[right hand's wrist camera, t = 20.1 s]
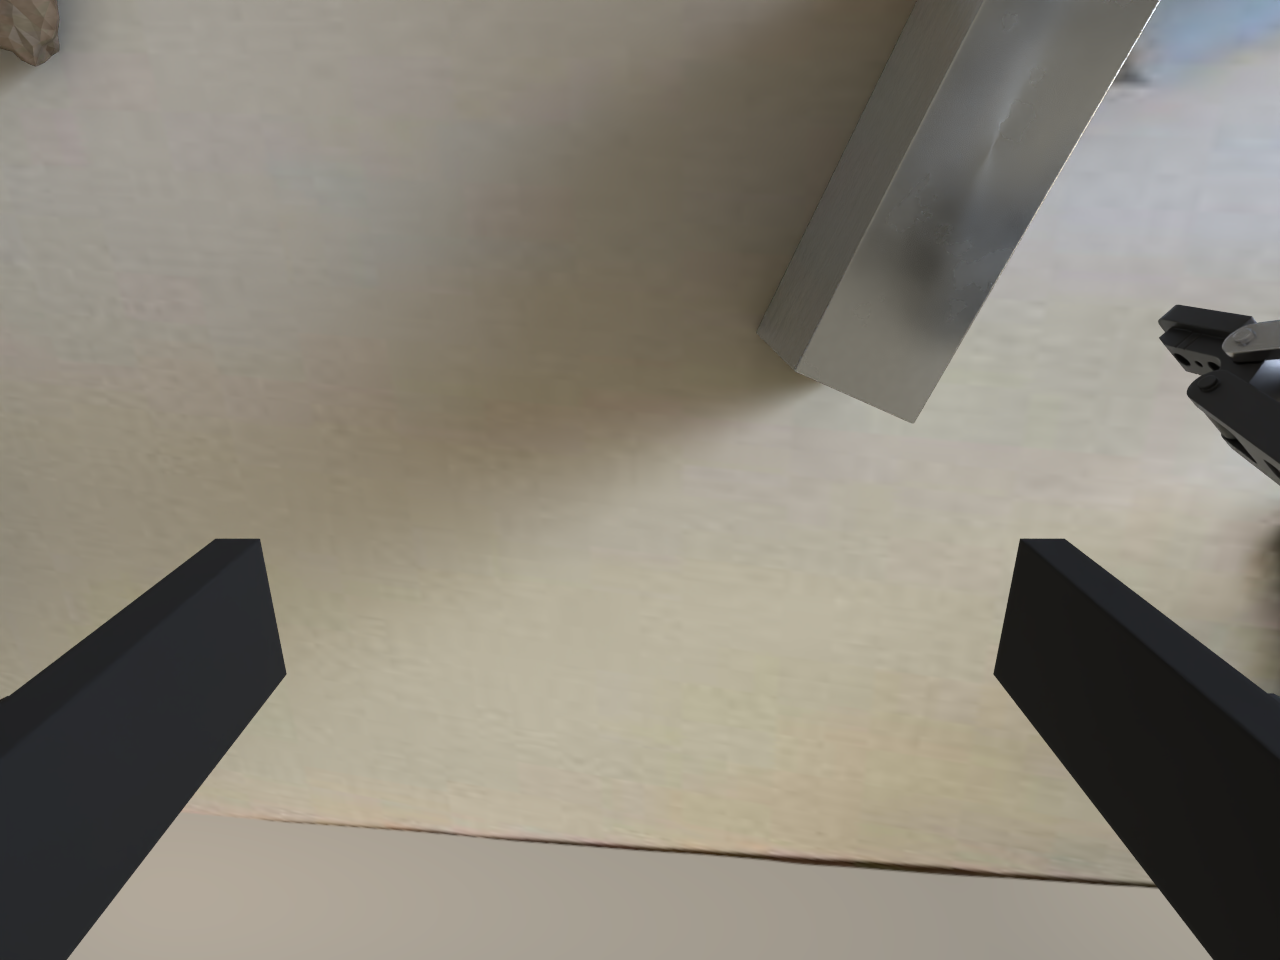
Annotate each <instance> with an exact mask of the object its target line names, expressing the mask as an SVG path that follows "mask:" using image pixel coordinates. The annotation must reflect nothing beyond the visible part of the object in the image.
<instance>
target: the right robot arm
mask: <svg viewBox="0 0 1280 960" xmlns="http://www.w3.org/2000/svg"><path fill="white" fill-rule="evenodd" d="M285 675H286V669H285V664H284V659H283V654H282V649H281V644H280V639H279V634H278V628H277V623H276V618H275V613H274V608H273V603H272V598H271V593H270V588H269V583H268V578H267V573H266V567H265V562H264V557H263V552H262V547H261V542H260V539H215V540H213V541H212V542H211V543H209V544H208V545H207V546H205V547H204V548H203V549H201V550H200V551H199V552H198V553H196V554H195V555H194V556H192V557H191V558H190V559H188V560H187V561H186V562H184V563H183V564H182V565H180V566H179V567H178V568H177V569H175V570H174V571H173V572H171V573H170V574H169V575H167V576H166V577H165V578H163V579H162V580H161V581H159V582H158V583H157V584H156V585H154V586H153V587H152V588H150V589H149V590H148V591H146V592H145V593H144V594H142V595H141V596H140V597H138V598H137V599H136V600H135V601H133V602H132V603H131V604H129V605H128V606H127V607H125V608H124V609H123V610H121V611H120V612H119V613H117V614H116V615H115V616H114V617H112V618H111V619H110V620H108V621H107V622H106V623H104V624H103V625H102V626H100V627H99V628H98V629H97V630H95V631H94V632H93V633H91V634H90V635H89V636H87V637H86V638H85V639H83V640H82V641H81V642H79V643H78V644H77V645H76V646H74V647H73V648H72V649H70V650H69V651H68V652H66V653H65V654H64V655H62V656H61V657H60V658H58V659H57V660H56V661H55V662H53V663H52V664H51V665H49V666H48V667H47V668H45V669H44V670H43V671H41V672H40V673H39V674H37V675H36V676H35V677H34V678H32V679H31V680H30V681H28V682H27V683H26V684H24V685H23V686H22V687H20V688H19V689H18V690H16V691H15V692H14V693H13V694H11V695H10V696H7V697H5V698H3V699H1V700H0V960H67V959H68V957H69V956H70V955H71V953H72V952H73V951H74V949H75V948H76V947H77V946H78V944H79V943H80V942H81V940H82V939H83V938H84V936H85V935H86V934H87V933H88V931H89V930H90V929H91V927H92V926H93V925H94V923H95V922H96V921H97V920H98V918H99V917H100V916H101V914H102V913H103V912H104V911H105V909H106V908H107V907H108V905H109V904H110V903H111V901H112V900H113V899H114V897H115V896H116V895H117V894H118V892H119V891H120V890H121V888H122V887H123V886H124V884H125V883H126V882H127V881H128V879H129V878H130V877H131V875H132V874H133V873H134V872H135V870H136V869H137V868H138V866H139V865H140V864H141V862H142V861H143V860H144V859H145V857H146V856H147V855H148V853H149V852H150V851H151V849H152V848H153V847H154V846H155V844H156V843H157V842H158V840H159V839H160V838H161V836H162V835H163V834H164V833H165V831H166V830H167V829H168V827H169V826H170V825H171V823H172V822H173V821H174V820H175V818H176V817H177V816H178V814H179V813H180V812H181V811H182V809H183V808H184V807H185V805H186V804H187V803H188V801H189V800H190V799H191V798H192V796H193V795H194V794H195V792H196V791H197V790H198V788H199V787H200V786H201V785H202V783H203V782H204V781H205V779H206V778H207V777H208V775H209V774H210V773H211V772H212V770H213V769H214V768H215V766H216V765H217V764H218V762H219V761H220V760H221V759H222V757H223V756H224V755H225V753H226V752H227V751H228V749H229V748H230V747H231V746H232V744H233V743H234V742H235V740H236V739H237V738H238V737H239V735H240V734H241V733H242V731H243V730H244V729H245V727H246V726H247V725H248V724H249V722H250V721H251V720H252V718H253V717H254V716H255V714H256V713H257V712H258V711H259V709H260V708H261V707H262V705H263V704H264V703H265V701H266V700H267V699H268V698H269V696H270V695H271V694H272V692H273V691H274V690H275V688H276V687H277V686H278V685H279V683H280V682H281V681H282V679H283V678H284V677H285ZM994 675H995V677H996V678H997V679H998V681H999V682H1000V683H1001V685H1002V686H1003V687H1004V688H1005V690H1006V691H1007V692H1008V694H1009V695H1010V696H1011V698H1012V699H1013V700H1014V701H1015V703H1016V704H1017V705H1018V707H1019V708H1020V709H1021V711H1022V712H1023V713H1024V714H1025V716H1026V717H1027V718H1028V720H1029V721H1030V722H1031V724H1032V725H1033V726H1034V727H1035V729H1036V730H1037V731H1038V733H1039V734H1040V735H1041V737H1042V738H1043V739H1044V740H1045V742H1046V743H1047V744H1048V746H1049V747H1050V748H1051V749H1052V751H1053V752H1054V753H1055V755H1056V756H1057V757H1058V759H1059V760H1060V761H1061V762H1062V764H1063V765H1064V766H1065V768H1066V769H1067V770H1068V772H1069V773H1070V774H1071V775H1072V777H1073V778H1074V779H1075V781H1076V782H1077V783H1078V785H1079V786H1080V787H1081V788H1082V790H1083V791H1084V792H1085V794H1086V795H1087V796H1088V798H1089V799H1090V800H1091V801H1092V803H1093V804H1094V805H1095V807H1096V808H1097V809H1098V811H1099V812H1100V813H1101V814H1102V816H1103V817H1104V818H1105V820H1106V821H1107V822H1108V824H1109V825H1110V826H1111V827H1112V829H1113V830H1114V831H1115V833H1116V834H1117V835H1118V836H1119V838H1120V839H1121V840H1122V842H1123V843H1124V844H1125V846H1126V847H1127V848H1128V849H1129V851H1130V852H1131V853H1132V855H1133V856H1134V857H1135V859H1136V860H1137V861H1138V862H1139V864H1140V865H1141V866H1142V868H1143V869H1144V870H1145V872H1146V873H1147V874H1148V875H1149V877H1150V878H1151V879H1152V881H1153V882H1154V883H1155V885H1156V886H1157V887H1158V888H1159V890H1160V891H1161V892H1162V894H1163V895H1164V896H1165V897H1166V899H1167V900H1168V901H1169V903H1170V904H1171V905H1172V907H1173V908H1174V909H1175V910H1176V912H1177V913H1178V914H1179V916H1180V917H1181V918H1182V920H1183V921H1184V922H1185V923H1186V925H1187V926H1188V927H1189V929H1190V930H1191V931H1192V933H1193V934H1194V935H1195V936H1196V938H1197V939H1198V940H1199V942H1200V943H1201V944H1202V946H1203V947H1204V948H1205V949H1206V951H1207V952H1208V953H1209V955H1210V956H1211V957H1212V959H1213V960H1280V697H1279V696H1277V695H1275V694H1267V693H1266V692H1265V691H1264V690H1262V689H1261V688H1260V687H1258V686H1257V685H1256V684H1254V683H1253V682H1252V681H1250V680H1249V679H1248V678H1246V677H1245V676H1244V675H1243V674H1241V673H1240V672H1239V671H1237V670H1236V669H1235V668H1233V667H1232V666H1231V665H1229V664H1228V663H1227V662H1225V661H1224V660H1223V659H1222V658H1220V657H1219V656H1218V655H1216V654H1215V653H1214V652H1212V651H1211V650H1210V649H1208V648H1207V647H1206V646H1204V645H1203V644H1202V643H1201V642H1199V641H1198V640H1197V639H1195V638H1194V637H1193V636H1191V635H1190V634H1189V633H1187V632H1186V631H1185V630H1183V629H1182V628H1181V627H1180V626H1178V625H1177V624H1176V623H1174V622H1173V621H1172V620H1170V619H1169V618H1168V617H1166V616H1165V615H1164V614H1163V613H1161V612H1160V611H1159V610H1157V609H1156V608H1155V607H1153V606H1152V605H1151V604H1149V603H1148V602H1147V601H1145V600H1144V599H1143V598H1142V597H1140V596H1139V595H1138V594H1136V593H1135V592H1134V591H1132V590H1131V589H1130V588H1128V587H1127V586H1126V585H1124V584H1123V583H1122V582H1121V581H1119V580H1118V579H1117V578H1115V577H1114V576H1113V575H1111V574H1110V573H1109V572H1107V571H1106V570H1105V569H1103V568H1102V567H1101V566H1100V565H1098V564H1097V563H1096V562H1094V561H1093V560H1092V559H1090V558H1089V557H1088V556H1086V555H1085V554H1084V553H1082V552H1081V551H1080V550H1079V549H1077V548H1076V547H1075V546H1073V545H1072V544H1071V543H1069V542H1068V541H1067V540H1065V539H1020V542H1019V547H1018V552H1017V557H1016V562H1015V567H1014V572H1013V578H1012V583H1011V588H1010V593H1009V598H1008V603H1007V608H1006V613H1005V618H1004V623H1003V628H1002V634H1001V639H1000V644H999V649H998V654H997V659H996V664H995V669H994Z"/></svg>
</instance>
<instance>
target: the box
mask: <svg viewBox="0 0 1280 960" xmlns="http://www.w3.org/2000/svg"><path fill="white" fill-rule="evenodd" d="M1160 1H1161V0H917V2H916V4H915V6H914V8H913V10H912V12H911V15H910V17H909V19H908V21H907V23H906V25H905V27H904V29H903V31H902V33H901V35H900V37H899V39H898V41H897V43H896V45H895V47H894V50H893V52H892V54H891V56H890V58H889V60H888V62H887V64H886V66H885V68H884V70H883V72H882V74H881V76H880V78H879V80H878V83H877V85H876V87H875V89H874V91H873V93H872V95H871V97H870V99H869V101H868V103H867V105H866V107H865V109H864V111H863V113H862V116H861V118H860V120H859V122H858V124H857V126H856V128H855V130H854V132H853V134H852V136H851V138H850V140H849V142H848V144H847V146H846V148H845V151H844V153H843V155H842V157H841V159H840V161H839V163H838V165H837V167H836V169H835V171H834V173H833V175H832V177H831V179H830V181H829V184H828V186H827V188H826V190H825V192H824V194H823V196H822V198H821V200H820V202H819V204H818V206H817V208H816V210H815V212H814V214H813V217H812V219H811V221H810V223H809V225H808V227H807V229H806V231H805V233H804V235H803V237H802V239H801V241H800V243H799V245H798V247H797V250H796V252H795V254H794V256H793V258H792V260H791V262H790V264H789V266H788V268H787V270H786V272H785V274H784V276H783V278H782V280H781V282H780V285H779V287H778V289H777V291H776V293H775V295H774V297H773V299H772V301H771V303H770V305H769V307H768V309H767V311H766V313H765V315H764V318H763V320H762V322H761V324H760V326H759V328H758V330H757V334H758V335H759V336H760V337H761V338H762V339H763V340H764V341H765V342H766V343H767V344H768V345H769V346H770V347H771V348H772V349H773V350H774V351H775V352H776V353H777V354H778V355H779V356H780V357H781V358H782V359H783V360H784V361H785V362H786V363H787V364H788V365H789V366H790V367H791V368H792V369H793V370H794V371H795V372H797V373H800V374H802V375H804V376H806V377H809V378H811V379H813V380H815V381H818V382H820V383H822V384H824V385H827V386H829V387H831V388H833V389H836V390H838V391H840V392H842V393H845V394H847V395H849V396H851V397H854V398H856V399H858V400H860V401H863V402H865V403H867V404H869V405H872V406H874V407H876V408H878V409H881V410H883V411H885V412H887V413H890V414H892V415H894V416H896V417H899V418H901V419H903V420H905V421H908V422H910V423H914V422H915V421H916V419H917V417H918V415H919V414H920V412H921V410H922V409H923V407H924V405H925V403H926V402H927V400H928V398H929V397H930V395H931V393H932V391H933V390H934V388H935V386H936V385H937V383H938V381H939V379H940V378H941V376H942V374H943V373H944V371H945V369H946V367H947V366H948V364H949V362H950V361H951V359H952V357H953V355H954V354H955V352H956V350H957V349H958V347H959V345H960V343H961V342H962V340H963V338H964V337H965V335H966V333H967V331H968V330H969V328H970V326H971V325H972V323H973V321H974V319H975V318H976V316H977V314H978V313H979V311H980V309H981V307H982V306H983V304H984V302H985V301H986V299H987V297H988V295H989V294H990V292H991V290H992V289H993V287H994V285H995V283H996V282H997V280H998V278H999V277H1000V275H1001V273H1002V271H1003V270H1004V268H1005V266H1006V265H1007V263H1008V261H1009V259H1010V258H1011V256H1012V254H1013V253H1014V251H1015V249H1016V247H1017V246H1018V244H1019V242H1020V241H1021V239H1022V237H1023V235H1024V234H1025V232H1026V230H1027V229H1028V227H1029V225H1030V223H1031V222H1032V220H1033V218H1034V217H1035V215H1036V213H1037V211H1038V210H1039V208H1040V206H1041V205H1042V203H1043V201H1044V199H1045V198H1046V196H1047V194H1048V193H1049V191H1050V189H1051V187H1052V186H1053V184H1054V182H1055V181H1056V179H1057V177H1058V175H1059V174H1060V172H1061V170H1062V169H1063V167H1064V165H1065V163H1066V162H1067V160H1068V158H1069V157H1070V155H1071V153H1072V151H1073V150H1074V148H1075V146H1076V145H1077V143H1078V141H1079V139H1080V138H1081V136H1082V134H1083V133H1084V131H1085V129H1086V127H1087V126H1088V124H1089V122H1090V121H1091V119H1092V117H1093V115H1094V114H1095V112H1096V110H1097V109H1098V107H1099V105H1100V103H1101V102H1102V100H1103V98H1104V97H1105V95H1106V93H1107V91H1108V90H1109V88H1110V86H1111V85H1112V83H1113V81H1114V79H1115V78H1116V76H1117V74H1118V73H1119V71H1120V69H1121V67H1122V66H1123V64H1124V62H1125V61H1126V59H1127V57H1128V55H1129V54H1130V52H1131V50H1132V49H1133V47H1134V45H1135V43H1136V42H1137V40H1138V38H1139V37H1140V35H1141V33H1142V31H1143V30H1144V28H1145V26H1146V25H1147V23H1148V21H1149V19H1150V18H1151V16H1152V14H1153V13H1154V11H1155V9H1156V7H1157V6H1158V4H1159V2H1160Z"/></svg>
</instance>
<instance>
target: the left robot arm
mask: <svg viewBox="0 0 1280 960" xmlns="http://www.w3.org/2000/svg"><path fill="white" fill-rule="evenodd" d="M1158 323H1159V325H1160V326H1161V327H1162V329H1163V330H1164V331H1165V333H1164V334H1163V335H1162V336H1161V337H1159V338H1160V340H1161V341H1162V342H1163V344H1164V345H1165V346H1166V347H1167V349H1168V350H1169V351H1170V352H1171V353H1172V355H1173V356H1174V357H1175V358H1176V360H1177V361H1178V362H1179V363H1180V364H1181V366H1182V367H1183V368H1184V369H1185V370H1186V371H1188V372H1191V373H1195V374H1199V375H1202V376H1200V377H1199V378H1197V379H1196V380H1195V381H1193V382H1192V383H1191V385H1190V386H1189V387H1188V390H1187V395H1188V397H1189V398H1190V399H1191V400H1192V402H1193V403H1194V404H1195V405H1196V406H1197V407H1198V408H1199V409H1200V410H1202V411H1203V412H1204V413H1205V414H1206V415H1207V417H1208V418H1209V419H1210V420H1211V421H1212V423H1213V424H1214V425H1215V426H1216V427H1217V429H1218V430H1219V431H1220V432H1221V436H1222V438H1223V439H1224V440H1225V441H1226V442H1227V443H1228V445H1229V446H1230V447H1231V448H1232V449H1233V450H1235V451H1236V452H1237V453H1238V454H1240V455H1241V456H1242V457H1244V458H1245V459H1246V460H1247V461H1249V462H1250V463H1251V464H1253V465H1254V466H1255V467H1257V468H1258V469H1259V470H1260V471H1262V472H1263V473H1264V474H1266V475H1267V476H1268V477H1269V478H1271V479H1272V480H1273V481H1275V482H1276V483H1277V484H1278V485H1280V320H1275V321H1267V322H1260V323H1257V322H1256V321H1255V320H1254V319H1253V317H1252V316H1246V315H1239V314H1233V313H1227V312H1221V311H1214V310H1208V309H1202V308H1195V307H1189V306H1183V305H1175V306H1174V307H1173V308H1172V309H1171V310H1170V311H1168V312H1167V313H1166V314H1165V315H1164V316H1163V317H1162V318H1160V319H1159V320H1158Z"/></svg>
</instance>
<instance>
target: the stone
mask: <svg viewBox="0 0 1280 960" xmlns="http://www.w3.org/2000/svg"><path fill="white" fill-rule="evenodd" d="M58 26H59V13H58V6H57V0H0V48H1V49H5V50H9V51H13V52H14V53H15V54H16V55H17V56H18V57H19V58H20V59H21V60H22V61H24V62H27V63H29V64H31V65H33V66H38V65H40V64H42V63H45V62H46V61H47V60H48V59H49V58H50V57H51V56H52V55H54V54H55V53H57V52H58V51H59V40H58Z"/></svg>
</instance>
